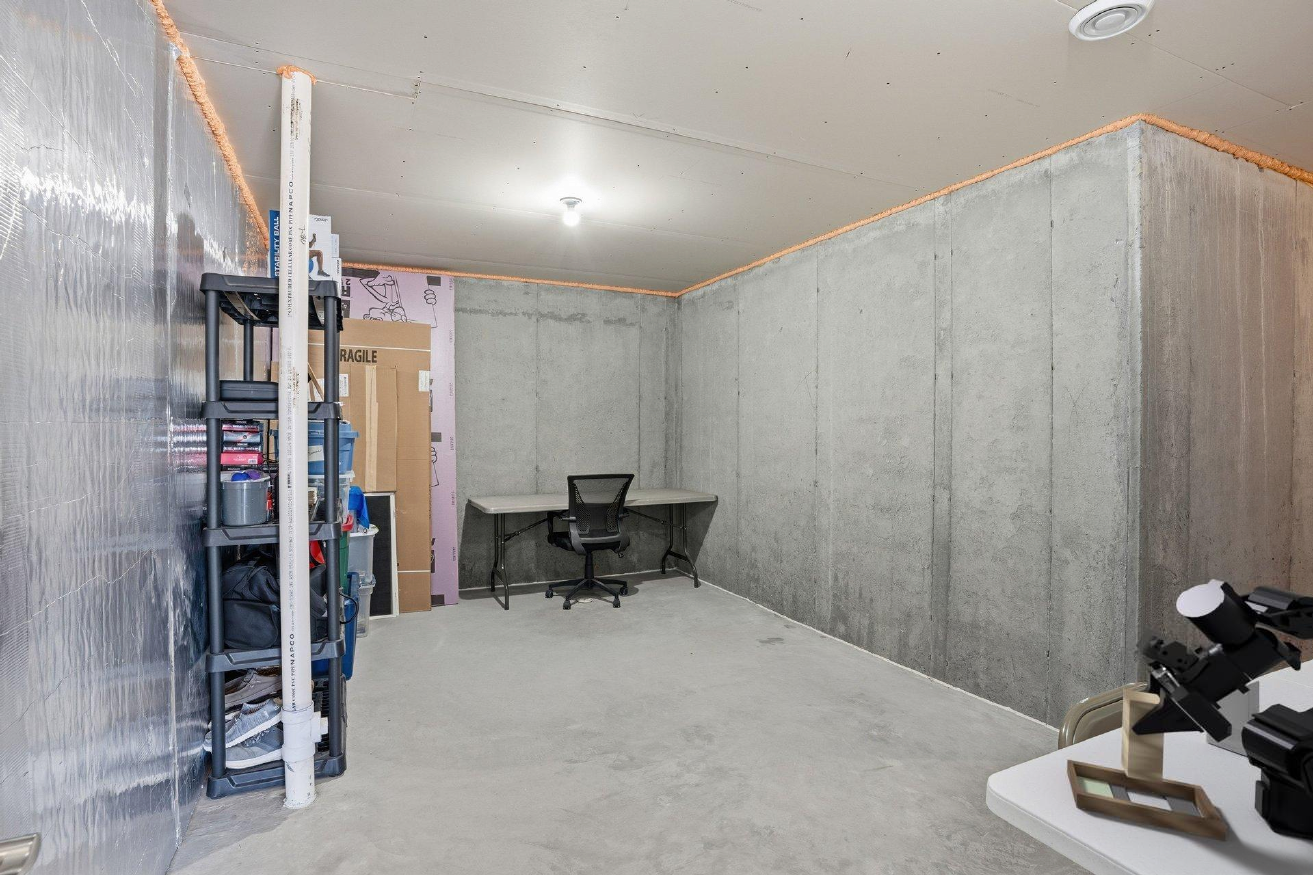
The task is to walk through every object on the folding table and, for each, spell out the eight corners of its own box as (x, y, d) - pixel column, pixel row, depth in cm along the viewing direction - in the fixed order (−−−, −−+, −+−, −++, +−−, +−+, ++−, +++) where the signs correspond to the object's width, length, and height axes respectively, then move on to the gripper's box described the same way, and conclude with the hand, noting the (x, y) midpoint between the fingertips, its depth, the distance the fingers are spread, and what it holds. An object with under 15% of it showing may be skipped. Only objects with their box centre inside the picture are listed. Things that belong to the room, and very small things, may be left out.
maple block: (1154, 769, 94) (1157, 694, 94) (1162, 783, 91) (1164, 705, 91) (1121, 763, 96) (1123, 689, 96) (1127, 776, 93) (1129, 699, 92)
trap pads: (1191, 801, 94) (1191, 799, 94) (1208, 832, 87) (1208, 830, 87) (1110, 784, 99) (1110, 782, 99) (1120, 812, 92) (1120, 810, 92)
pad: (1107, 784, 99) (1107, 782, 99) (1118, 812, 92) (1118, 809, 92) (1074, 777, 101) (1074, 775, 101) (1081, 803, 94) (1081, 801, 94)
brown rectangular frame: (1200, 799, 95) (1201, 785, 95) (1225, 840, 86) (1226, 825, 85) (1067, 771, 102) (1067, 759, 102) (1076, 807, 93) (1076, 793, 93)
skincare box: (1260, 752, 109) (1262, 680, 109) (1248, 758, 107) (1251, 685, 107) (1214, 736, 114) (1217, 667, 114) (1202, 742, 112) (1205, 672, 112)
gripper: (1162, 598, 100) (1074, 658, 105) (1203, 633, 83) (1096, 703, 88) (1226, 658, 97) (1133, 717, 102) (1282, 707, 80) (1167, 775, 85)
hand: (1130, 725), depth 94 cm, fingers closed on maple block, 4 cm apart
